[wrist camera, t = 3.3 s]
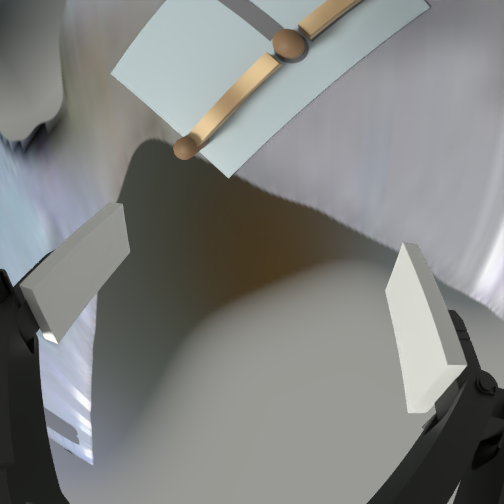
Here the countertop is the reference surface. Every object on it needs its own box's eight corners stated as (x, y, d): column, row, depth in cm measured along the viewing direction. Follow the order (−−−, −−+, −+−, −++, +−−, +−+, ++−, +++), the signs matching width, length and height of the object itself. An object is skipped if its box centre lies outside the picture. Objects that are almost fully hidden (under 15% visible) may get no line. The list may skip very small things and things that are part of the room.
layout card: (111, 72, 27) (108, 72, 27) (288, -103, 13) (288, -105, 13) (229, 177, 32) (228, 178, 32) (428, 8, 18) (430, 7, 18)
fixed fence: (272, 47, 24) (265, 42, 20) (382, -38, 16) (393, -54, 12) (291, 64, 24) (288, 62, 20) (401, -21, 17) (415, -34, 13)
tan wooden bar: (268, 52, 24) (262, 49, 20) (284, 67, 24) (280, 65, 21) (186, 139, 30) (169, 149, 26) (200, 151, 30) (185, 164, 27)
